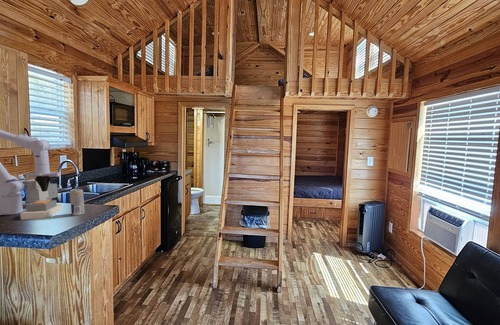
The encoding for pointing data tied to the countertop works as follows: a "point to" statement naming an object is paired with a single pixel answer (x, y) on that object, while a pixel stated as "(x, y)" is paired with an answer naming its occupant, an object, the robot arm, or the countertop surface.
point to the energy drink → (77, 202)
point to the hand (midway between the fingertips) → (44, 191)
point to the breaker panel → (41, 210)
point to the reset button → (41, 202)
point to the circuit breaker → (39, 191)
